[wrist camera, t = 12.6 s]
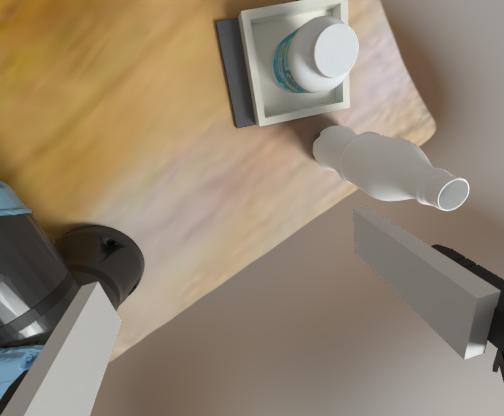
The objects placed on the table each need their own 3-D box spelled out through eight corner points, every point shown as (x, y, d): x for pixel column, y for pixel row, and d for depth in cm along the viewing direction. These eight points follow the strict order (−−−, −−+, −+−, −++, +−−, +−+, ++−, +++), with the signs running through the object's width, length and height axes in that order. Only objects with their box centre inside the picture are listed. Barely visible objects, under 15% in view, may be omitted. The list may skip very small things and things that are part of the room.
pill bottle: (261, 49, 36) (289, 24, 24) (310, 26, 36) (363, -12, 24) (280, 102, 39) (313, 104, 27) (324, 80, 39) (378, 73, 27)
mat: (236, 127, 41) (237, 128, 40) (216, 23, 35) (216, 21, 34) (343, 105, 42) (346, 105, 42) (340, 1, 37) (343, -1, 36)
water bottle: (345, 164, 47) (476, 228, 24) (307, 167, 46) (406, 236, 23) (350, 122, 44) (504, 150, 21) (309, 124, 43) (425, 155, 20)
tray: (256, 124, 41) (259, 126, 38) (238, 17, 35) (240, 11, 32) (340, 106, 42) (349, 107, 39) (336, 0, 36) (347, -8, 33)
